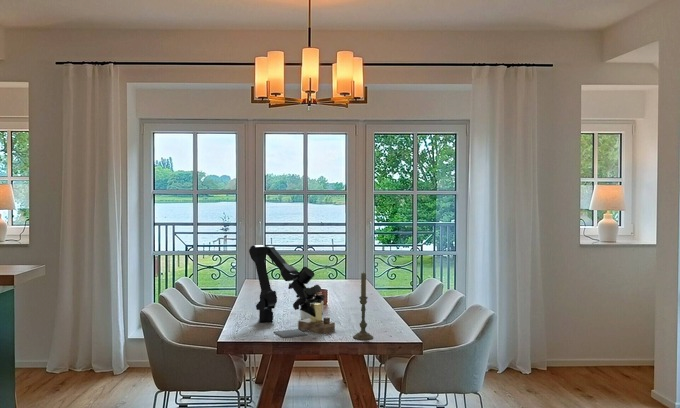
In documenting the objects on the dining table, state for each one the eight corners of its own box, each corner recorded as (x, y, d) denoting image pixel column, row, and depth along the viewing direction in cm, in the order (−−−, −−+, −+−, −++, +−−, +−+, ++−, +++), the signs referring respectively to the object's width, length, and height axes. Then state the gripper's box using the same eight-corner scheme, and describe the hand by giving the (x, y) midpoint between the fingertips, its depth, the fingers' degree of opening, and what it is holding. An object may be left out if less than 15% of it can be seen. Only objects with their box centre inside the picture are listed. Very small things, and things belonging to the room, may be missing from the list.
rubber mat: (273, 332, 286) (273, 331, 286) (297, 330, 292) (297, 329, 292) (283, 338, 275) (283, 336, 275) (307, 335, 281) (307, 334, 281)
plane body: (298, 329, 295) (298, 315, 295) (308, 326, 301) (308, 313, 301) (324, 333, 285) (324, 319, 285) (334, 330, 292) (334, 317, 292)
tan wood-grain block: (310, 325, 292) (310, 304, 292) (317, 323, 296) (317, 302, 296) (315, 325, 290) (315, 304, 290) (322, 324, 294) (322, 303, 294)
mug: (299, 321, 314) (299, 299, 313) (300, 317, 322) (301, 296, 322) (323, 321, 314) (323, 299, 313) (323, 318, 322) (323, 297, 322)
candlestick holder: (372, 335, 282) (372, 270, 282) (374, 340, 273) (374, 273, 273) (352, 335, 282) (353, 270, 282) (353, 340, 273) (354, 272, 272)
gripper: (297, 281, 288) (315, 307, 281) (322, 277, 303) (340, 302, 296) (285, 296, 293) (302, 322, 286) (309, 292, 308) (327, 316, 301)
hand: (318, 315), depth 292 cm, fingers closed on tan wood-grain block, 5 cm apart
